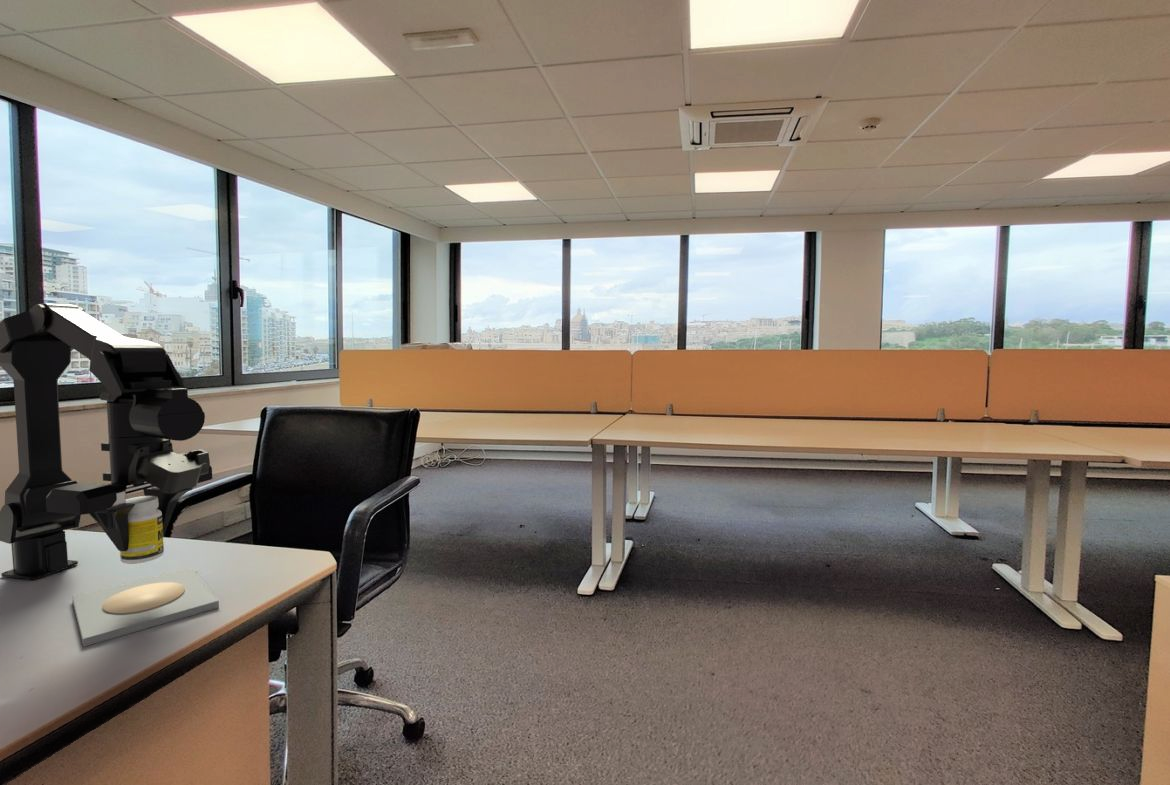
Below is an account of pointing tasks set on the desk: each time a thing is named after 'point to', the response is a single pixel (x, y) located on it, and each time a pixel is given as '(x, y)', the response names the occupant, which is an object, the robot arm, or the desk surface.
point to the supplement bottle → (144, 531)
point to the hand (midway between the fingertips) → (141, 544)
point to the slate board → (141, 605)
